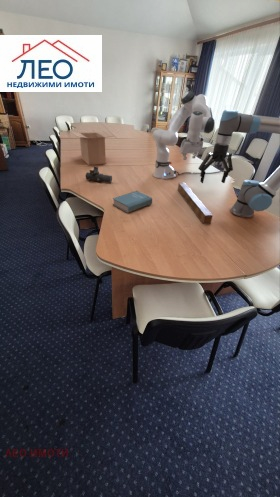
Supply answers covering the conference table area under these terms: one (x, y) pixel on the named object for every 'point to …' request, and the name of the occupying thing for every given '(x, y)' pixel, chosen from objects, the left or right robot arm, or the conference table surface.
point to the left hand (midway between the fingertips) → (189, 159)
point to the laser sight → (98, 176)
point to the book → (132, 201)
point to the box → (92, 146)
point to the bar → (195, 204)
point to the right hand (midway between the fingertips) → (212, 182)
